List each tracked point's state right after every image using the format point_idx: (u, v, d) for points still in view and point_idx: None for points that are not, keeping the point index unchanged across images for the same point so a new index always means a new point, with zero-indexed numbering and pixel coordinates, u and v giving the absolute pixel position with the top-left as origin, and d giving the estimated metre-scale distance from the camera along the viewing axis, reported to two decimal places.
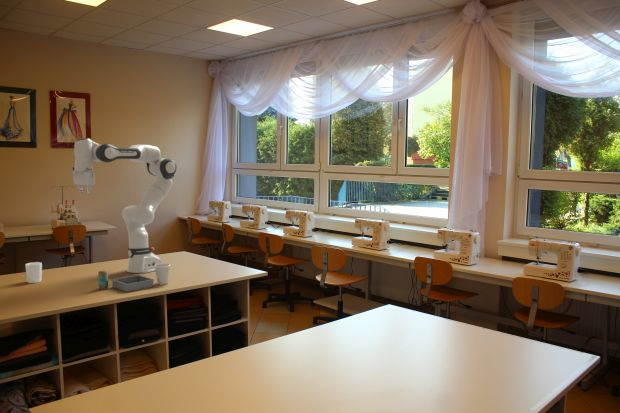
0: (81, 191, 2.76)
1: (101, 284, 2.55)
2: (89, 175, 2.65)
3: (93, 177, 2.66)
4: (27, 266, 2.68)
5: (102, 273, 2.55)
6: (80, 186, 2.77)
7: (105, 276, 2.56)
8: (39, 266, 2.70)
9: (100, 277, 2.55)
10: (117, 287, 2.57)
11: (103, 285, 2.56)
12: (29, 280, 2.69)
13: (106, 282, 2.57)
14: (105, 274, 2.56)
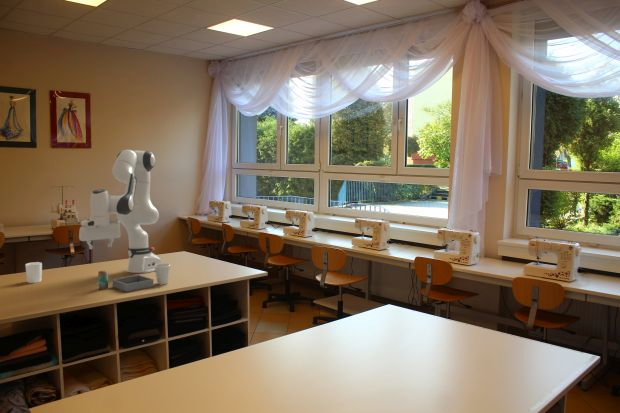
0: None
1: (101, 284, 2.55)
2: (119, 227, 2.61)
3: None
4: (27, 266, 2.68)
5: (102, 273, 2.55)
6: None
7: (105, 276, 2.56)
8: (39, 266, 2.70)
9: (100, 277, 2.55)
10: (117, 287, 2.57)
11: (103, 285, 2.56)
12: (29, 280, 2.69)
13: (106, 282, 2.57)
14: (105, 274, 2.56)
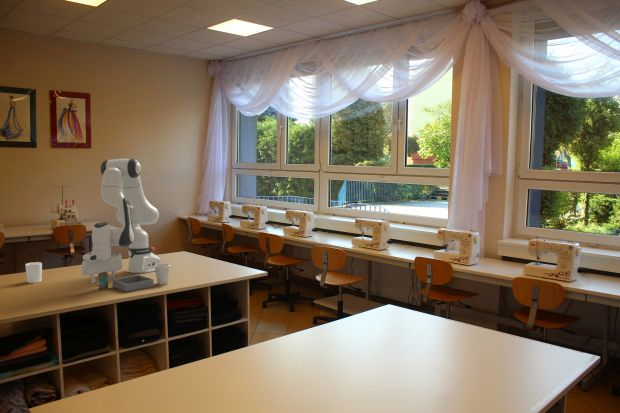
0: None
1: (101, 284, 2.55)
2: None
3: None
4: (27, 266, 2.68)
5: (102, 273, 2.55)
6: None
7: (105, 276, 2.56)
8: (39, 266, 2.70)
9: (100, 277, 2.55)
10: (117, 287, 2.57)
11: (103, 285, 2.56)
12: (29, 280, 2.69)
13: (106, 282, 2.57)
14: (105, 274, 2.56)
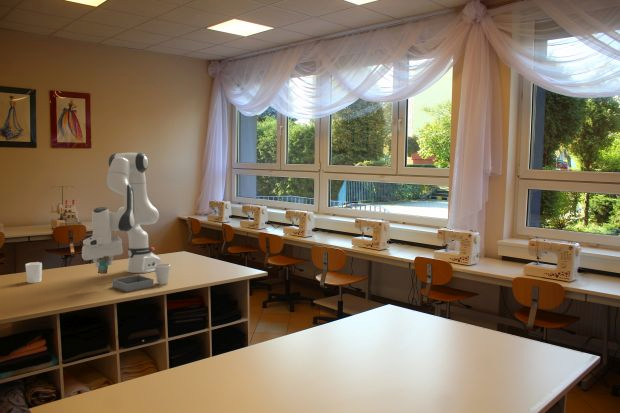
0: None
1: (101, 268, 2.55)
2: (121, 244, 2.62)
3: None
4: (27, 266, 2.68)
5: (103, 257, 2.55)
6: None
7: (106, 260, 2.56)
8: (39, 266, 2.70)
9: (101, 261, 2.55)
10: (117, 287, 2.57)
11: (103, 269, 2.55)
12: (29, 280, 2.69)
13: (106, 266, 2.56)
14: (106, 258, 2.56)
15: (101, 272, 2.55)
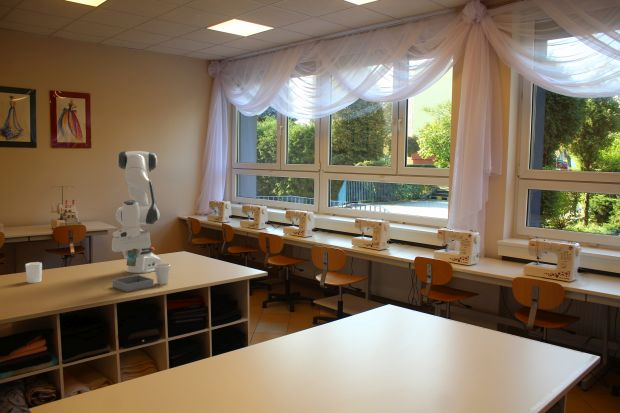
0: None
1: (130, 260, 2.57)
2: None
3: None
4: (27, 266, 2.68)
5: (132, 249, 2.58)
6: None
7: (135, 253, 2.58)
8: (39, 266, 2.70)
9: (130, 253, 2.57)
10: (117, 287, 2.57)
11: (131, 261, 2.58)
12: (29, 280, 2.69)
13: (135, 259, 2.59)
14: (135, 251, 2.58)
15: (130, 264, 2.57)
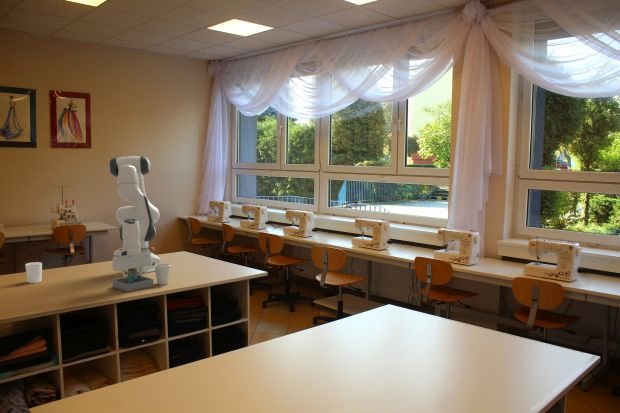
0: None
1: (130, 281, 2.59)
2: None
3: None
4: (27, 266, 2.68)
5: (132, 270, 2.58)
6: None
7: (134, 273, 2.59)
8: (39, 266, 2.70)
9: (130, 274, 2.58)
10: (117, 287, 2.57)
11: (132, 282, 2.59)
12: (29, 280, 2.69)
13: (135, 279, 2.60)
14: (134, 271, 2.59)
15: None
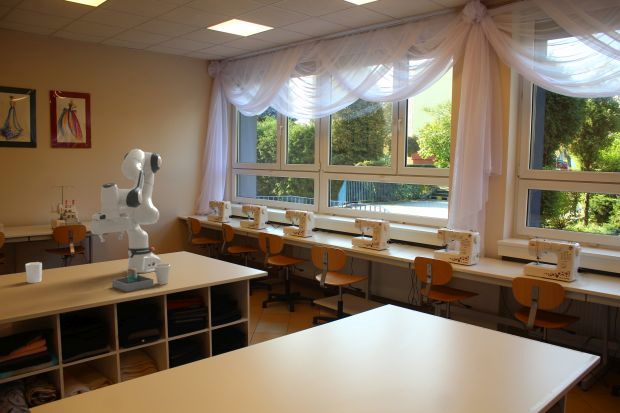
0: None
1: (130, 281, 2.59)
2: None
3: None
4: (27, 266, 2.68)
5: (131, 271, 2.58)
6: None
7: (134, 274, 2.59)
8: (39, 266, 2.70)
9: (129, 275, 2.58)
10: (117, 287, 2.57)
11: (132, 282, 2.59)
12: (29, 280, 2.69)
13: (135, 279, 2.60)
14: (134, 272, 2.59)
15: None
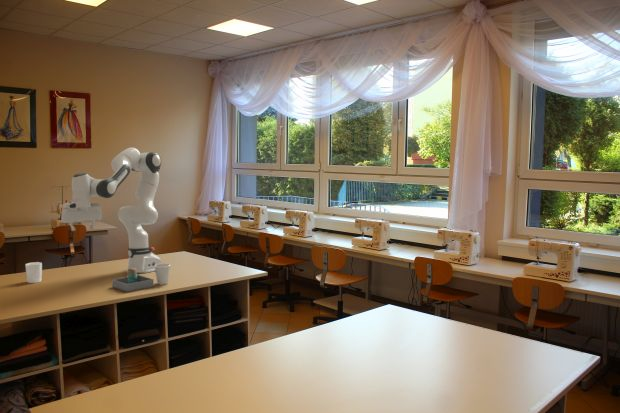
0: None
1: (130, 281, 2.59)
2: (100, 209, 2.71)
3: None
4: (27, 266, 2.68)
5: (131, 271, 2.58)
6: None
7: (134, 274, 2.59)
8: (39, 266, 2.70)
9: (129, 275, 2.58)
10: (117, 287, 2.57)
11: (132, 282, 2.59)
12: (29, 280, 2.69)
13: (135, 279, 2.60)
14: (134, 272, 2.59)
15: None
